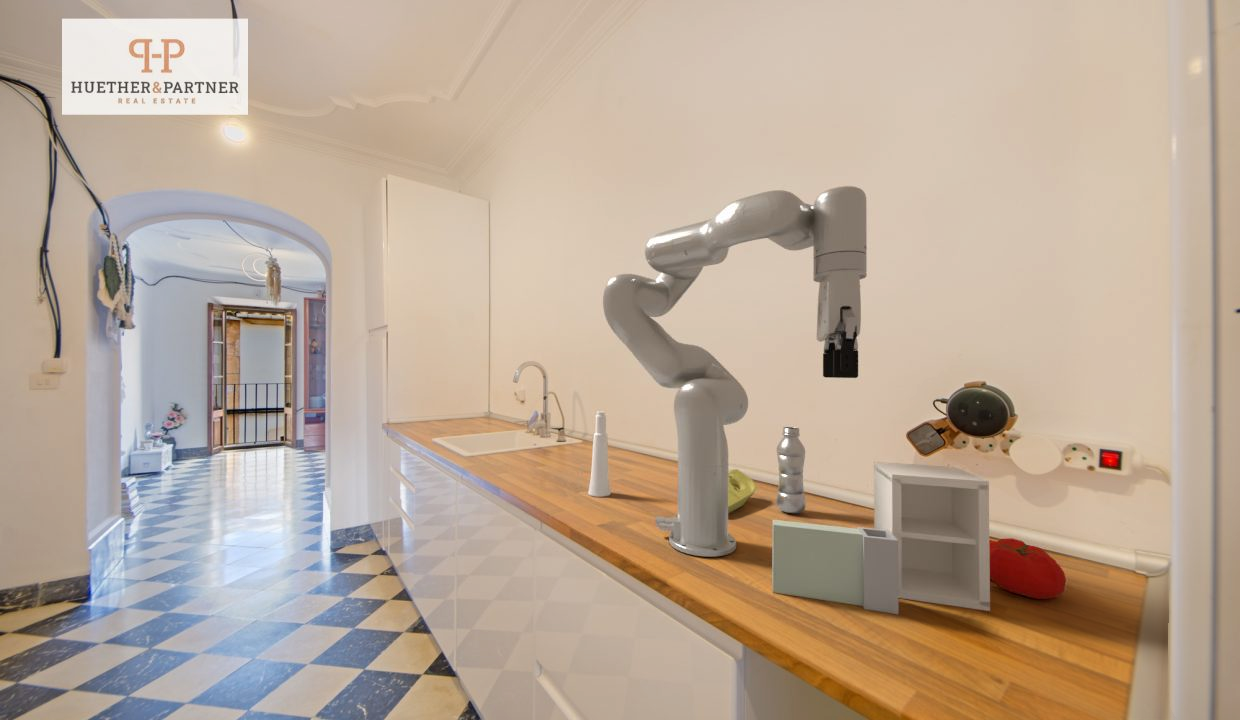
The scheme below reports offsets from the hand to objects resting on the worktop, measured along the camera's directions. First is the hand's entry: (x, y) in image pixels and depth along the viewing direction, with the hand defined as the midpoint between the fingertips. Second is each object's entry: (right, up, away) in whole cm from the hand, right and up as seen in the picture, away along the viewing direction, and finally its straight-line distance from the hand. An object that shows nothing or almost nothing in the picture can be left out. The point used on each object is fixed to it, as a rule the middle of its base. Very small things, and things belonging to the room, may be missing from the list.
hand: (839, 377), depth 69 cm
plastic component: (-9, -34, +40) cm, 53 cm away
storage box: (-3, -32, -4) cm, 33 cm away
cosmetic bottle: (-40, -33, +48) cm, 71 cm away
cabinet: (+11, -32, -2) cm, 34 cm away
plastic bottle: (+6, -34, +36) cm, 49 cm away
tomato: (+28, -33, 0) cm, 43 cm away
